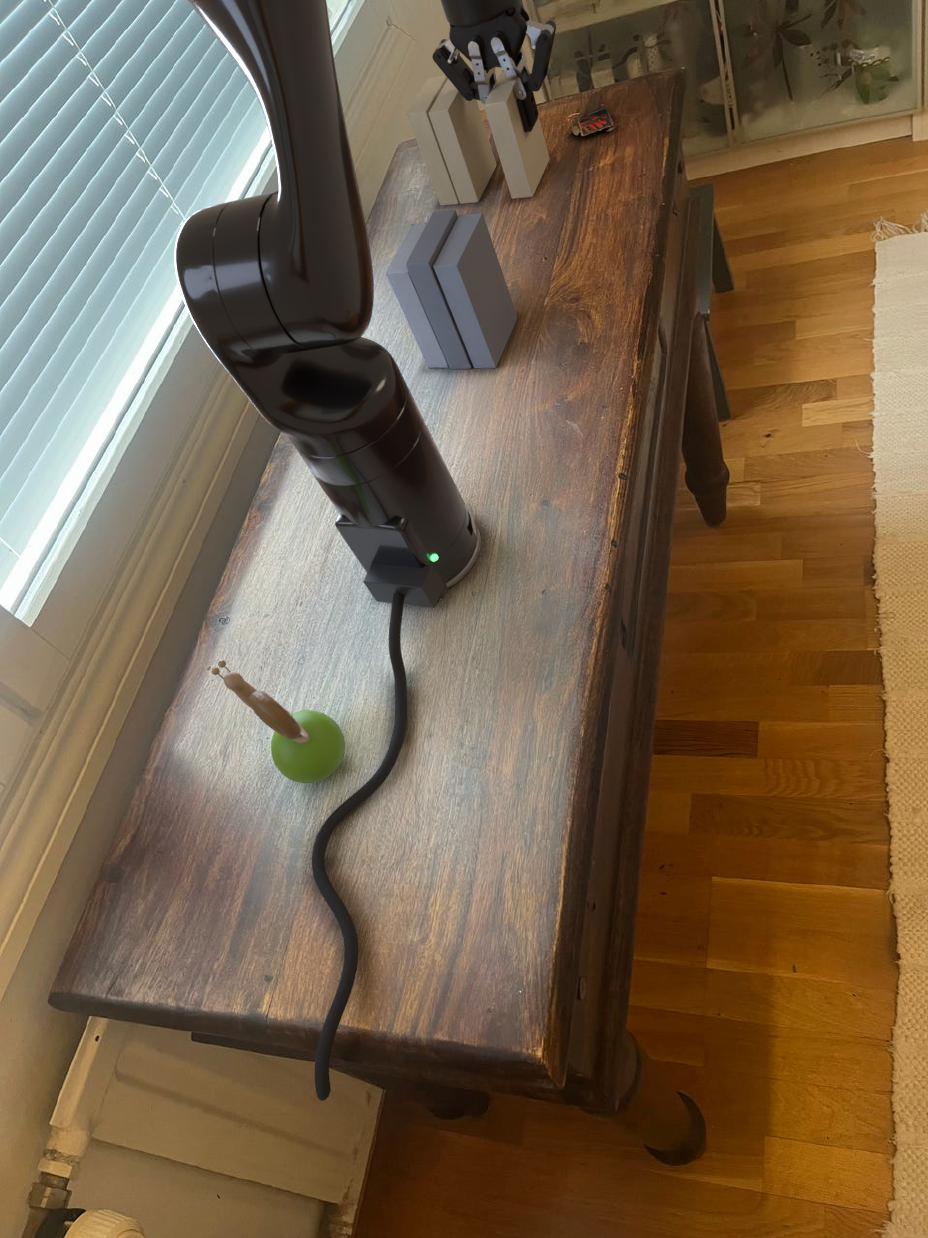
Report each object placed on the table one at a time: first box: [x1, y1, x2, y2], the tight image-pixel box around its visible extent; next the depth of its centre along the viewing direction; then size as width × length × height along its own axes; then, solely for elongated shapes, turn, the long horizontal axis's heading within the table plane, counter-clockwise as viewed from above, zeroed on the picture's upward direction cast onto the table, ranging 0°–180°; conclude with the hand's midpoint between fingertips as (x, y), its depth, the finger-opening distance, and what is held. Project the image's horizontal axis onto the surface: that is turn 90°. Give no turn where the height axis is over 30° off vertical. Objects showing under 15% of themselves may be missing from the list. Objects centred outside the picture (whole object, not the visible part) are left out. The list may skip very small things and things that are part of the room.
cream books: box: [406, 74, 497, 207], centre depth 106 cm, size 7×5×11 cm
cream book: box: [483, 69, 551, 200], centre depth 102 cm, size 7×3×11 cm, turn 160°
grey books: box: [385, 209, 518, 370], centre depth 89 cm, size 7×8×12 cm
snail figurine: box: [211, 659, 346, 785], centre depth 67 cm, size 5×6×12 cm
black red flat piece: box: [570, 108, 617, 137], centre depth 108 cm, size 5×5×1 cm
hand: (517, 128), depth 102 cm, fingers closed on cream book, 2 cm apart
